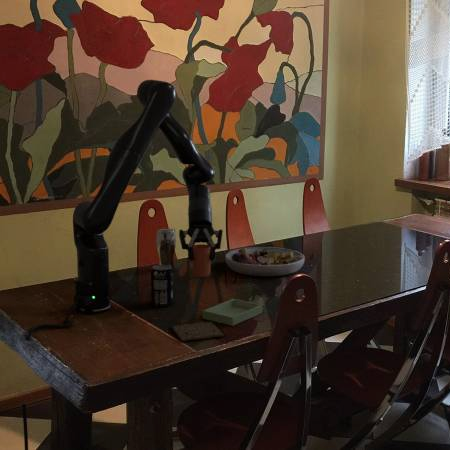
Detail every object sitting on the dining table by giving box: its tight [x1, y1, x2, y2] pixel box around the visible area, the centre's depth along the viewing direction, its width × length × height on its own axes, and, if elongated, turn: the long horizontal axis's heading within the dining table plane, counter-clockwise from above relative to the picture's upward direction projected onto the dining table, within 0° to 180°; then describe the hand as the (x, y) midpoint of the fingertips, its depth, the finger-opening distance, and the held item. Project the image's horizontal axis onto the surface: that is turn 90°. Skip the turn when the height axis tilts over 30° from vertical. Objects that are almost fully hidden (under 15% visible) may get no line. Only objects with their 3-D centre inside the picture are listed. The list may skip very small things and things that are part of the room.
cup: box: [191, 243, 212, 278], centre depth 224 cm, size 6×6×9 cm
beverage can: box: [150, 264, 174, 307], centre depth 226 cm, size 7×7×12 cm
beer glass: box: [156, 228, 177, 272], centre depth 267 cm, size 7×7×15 cm
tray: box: [202, 298, 263, 327], centre depth 218 cm, size 15×11×2 cm
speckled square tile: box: [171, 320, 225, 342], centre depth 203 cm, size 12×12×1 cm
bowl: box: [224, 246, 306, 278], centre depth 273 cm, size 30×30×8 cm
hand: (201, 259), depth 222 cm, fingers closed on cup, 5 cm apart
